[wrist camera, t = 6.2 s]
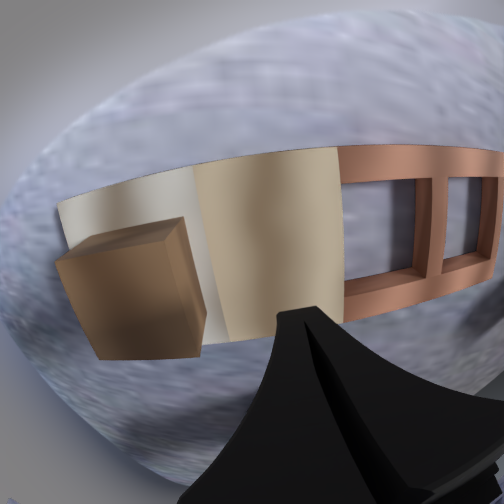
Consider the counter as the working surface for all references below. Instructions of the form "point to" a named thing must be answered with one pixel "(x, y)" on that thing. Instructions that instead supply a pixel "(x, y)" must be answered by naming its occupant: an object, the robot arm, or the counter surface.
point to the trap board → (300, 229)
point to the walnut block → (137, 292)
